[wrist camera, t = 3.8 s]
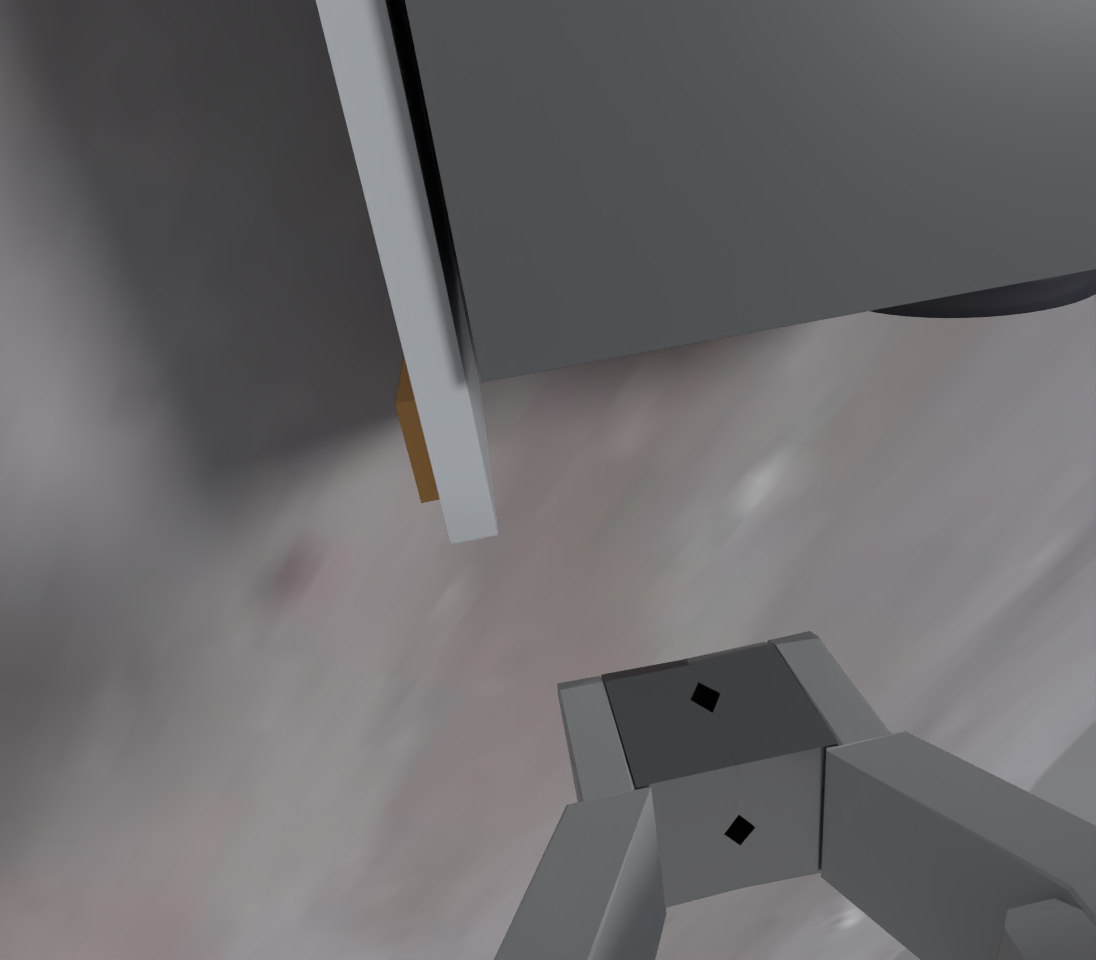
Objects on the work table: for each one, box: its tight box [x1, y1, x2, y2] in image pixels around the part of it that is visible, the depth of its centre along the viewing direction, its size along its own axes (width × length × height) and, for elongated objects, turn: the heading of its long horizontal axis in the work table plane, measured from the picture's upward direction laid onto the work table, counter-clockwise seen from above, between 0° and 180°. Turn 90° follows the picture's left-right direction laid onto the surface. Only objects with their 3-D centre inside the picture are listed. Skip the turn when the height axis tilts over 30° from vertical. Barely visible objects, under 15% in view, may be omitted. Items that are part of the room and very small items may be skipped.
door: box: [316, 0, 498, 544], centre depth 15 cm, size 2×18×9 cm, turn 9°
